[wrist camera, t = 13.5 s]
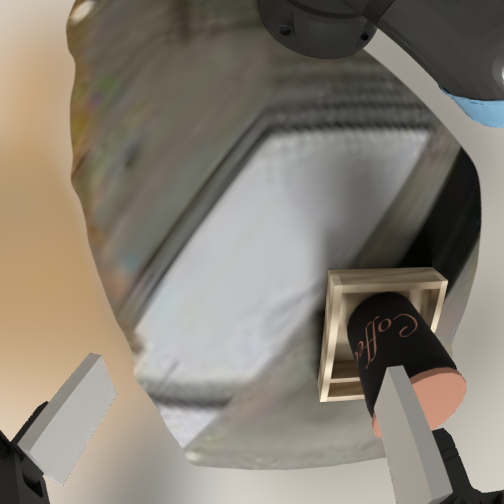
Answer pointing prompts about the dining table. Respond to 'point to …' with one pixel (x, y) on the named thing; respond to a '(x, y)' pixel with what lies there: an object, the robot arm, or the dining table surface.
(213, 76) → the dining table surface
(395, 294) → the coffee jar
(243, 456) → the dining table surface
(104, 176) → the dining table surface
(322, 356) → the walled box
